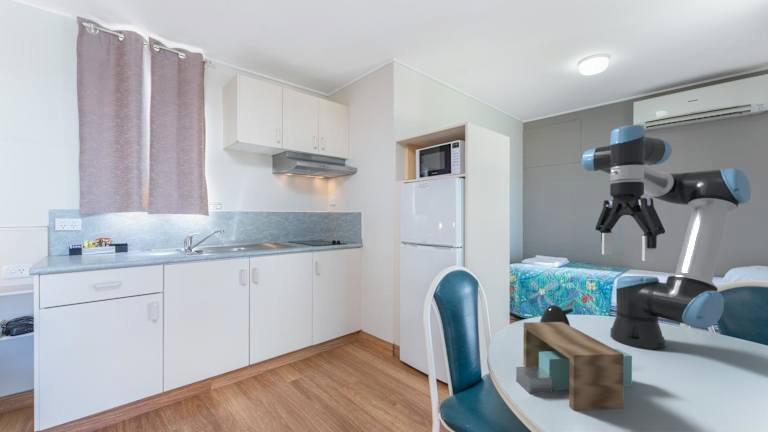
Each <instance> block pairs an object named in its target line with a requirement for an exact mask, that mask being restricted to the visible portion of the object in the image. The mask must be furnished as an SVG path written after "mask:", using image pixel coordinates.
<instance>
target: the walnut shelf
mask: <svg viewBox="0 0 768 432" xmlns="http://www.w3.org/2000/svg"><path fill="white" fill-rule="evenodd" d="M615 349H616V348H612V347H611V346H609V345H607V344H605V343H603V342H601V341H600V340H597V339H596V338H594V337H592V336H590V335H589V334H586V333H584V332H583V331H580V330H579V329H576V328H575V327H572V326H571V325H570V326H569V325H567V324H565V323H563V322H540V321H537V322H535V321H534V322H523V367H527V366H538V367H539V352H544V351H559V352H560V353H562V354H563V355H564V356H566V357H567V358H569V359H570V367H569V389H568V391H569V393H568V395H569V396H568V399H569V400H568V402H569V403H568V404H569V405H568V407H570V408H571V410H573V411H586V410H587V411H589V410H590V411H591V410H592V411H593V410H613V409H614V410H615V409H616V410H617V409H624V386H623V357H624V354H622V353H621V352H619V351H617V350H615Z"/></svg>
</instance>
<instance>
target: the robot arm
mask: <svg viewBox="0 0 768 432" xmlns="http://www.w3.org/2000/svg"><path fill="white" fill-rule="evenodd" d="M672 150H673V149H672V145H671V144H670V142H668V141H666V140H664V139H661V138H657V137H651V136H650V137H649V136H646V133H645V128H644V126H642V125H640V124H632V125H624V126H619V127H616V128H614V129H613V130H612V131H611V133H610V142H609V145H605V146H600V147H595V148H592V149H591V148H590V149H588V150H586V151H584V152H583V154H582V158H581V163H582V167H583V168H584V169H585V170H586V171H588V172H597V171H600V172H604V173H606V174H608V175H610V178H609V179H610V182H612V183H611V184H609V186H610V187H609V191H610V192H609V195H610V197H612V200H604V201H603V206H602V210H601V212H600V215H599V217H598V221H597V223H596V224H595V231H598V232H600V241H601V255H604V256H606V255H609V256H610V255H611V256H612V255H613V232H612V230H613V228H614V227H615V225H616V224H617V222H618V221H619V220H620V219H621V217H623V216H631V217H632V218H633V219H634V220H635V222H636V224H637V225H638V227H639V228H640V229H641V230H642V232H643V233H644V234H643V235H642V237H641V241H642V242H641V243H642V244H641V245H642V247H641V248H642V250H641V261H642V262H655V256H656V255H655V252H656V251H655V250H656V249H657V240H658V239H657V237H658V236H659V235H663V234H665V233H666V229H665V227H664V226H663V223H662V221H661V219H660V217H659V215H658V213H657V210H656V208H655V206H654V199H656V200H660V201H662V202H667V203H669V204H674V205H685V206H686V205H687V207H689V209H691V214H690V219H689V222H688V225H687V229H686V233H685V237H684V239H683V244H682V247H681V251H680V254H679V255H680V256H679V258H678V262H677V266H676V270H675V273H673V274H670V275H668V276H667V279H666V282H660V278H658V277H657V276H653V275H651V276H650V275H622V276H619V277H618V278H617V280H616V288H615V289H616V294H615V295H616V304H615V305H616V312H615V313H616V315H615V318H614V321H613V325H612V327H611V328H610V337H611V339H613V340H615V341H616V342H619V343H621V344H623V345H628V346H630V347H633V348H634V347H635V348H639V349H646V350H662V349H664V348H665V347H666V339H665V337H664V336H663V333H662V329H661V326H660V324H659V318H660V319H664V320H668V321H671V322H677V323H681V324H684V325H686V326H689V327H690V326H691V327H696V328H703V329H707V328H711V327H713V326H714V325H716V324H717V323H718V322H719V320H720V319H721V317H722V315H723V312H724V311H725V310H724V308H725V304H724V303H725V299H724V298H725V297H724V296H723V294H722V293H720V292H718V286H716V284H714V282H713V280H714V276H715V272H716V267H717V263H718V259H719V255H720V252H721V246H722V243H723V239H724V235H725V231H726V227H727V223H728V219H729V215H731V214H734V213H735V212H737V211H738V207H739V204H741V205H743V204H747V203H748V202H749V201H750V199H751V184H750V182H749V179H748V176H747V175H746V173H745V172H744V171H743V170H741V169H740V168H737V167H736V168H720V169H712V170H700V171H691V172H679V173H678V172H677V173H669V172H667V171H662V170H661V171H660V170H659V171H658V170H656V169H654V168H652V167H650V166H654V165H655V166H656V165H661V164H662V163H665V162H666V161H667V160H669V159H670V157H671V154H672V152H673V151H672ZM644 194H645V195H647V196H650V197H642V196H644ZM653 198H654V199H653Z"/></svg>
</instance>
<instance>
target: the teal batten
mask: <svg viewBox="0 0 768 432" xmlns="http://www.w3.org/2000/svg"><path fill="white" fill-rule="evenodd" d="M614 349H615V350H617V351H619V352H621V353H622V354H624V357H623V387H630V386H631V387H632V385H633V384H632V383H633V382H632V381H633V376H632V375H633V356H632V355H631V354H629V353H627V352H625V351H623V350H622V349H620V348H614ZM569 367H570V359H569V358H567V357H566V356H564V355H563V354H562V353H560V352H559V351H544V352H539V368H540V369H542V370H543V371H544V372H546V373H547V374H548V375H549V376H551V377H552V391H556V389H558V390H569Z"/></svg>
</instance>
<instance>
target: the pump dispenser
mask: <svg viewBox="0 0 768 432" xmlns="http://www.w3.org/2000/svg"><path fill="white" fill-rule="evenodd" d="M573 312H574V310H573V308H568V309H563V308H562V307H560V306H559V305H556V304H552V305H549V306H547V307H546V308H545V309H544V311H543V313H542V315H541V318H540V321H539V322H563V323H565V324H567V325H569V326H571V324H570V321H569V318H568V317H567V315H568V314H570V313H573Z"/></svg>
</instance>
